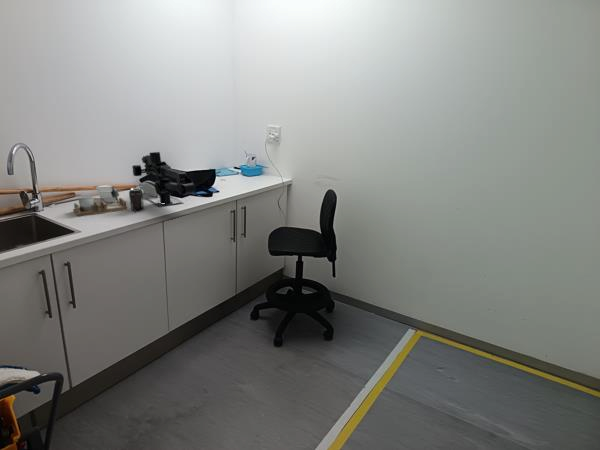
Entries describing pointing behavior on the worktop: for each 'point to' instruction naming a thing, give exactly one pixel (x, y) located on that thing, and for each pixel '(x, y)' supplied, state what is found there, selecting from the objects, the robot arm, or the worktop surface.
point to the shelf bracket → (108, 193)
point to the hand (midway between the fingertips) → (142, 169)
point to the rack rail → (97, 206)
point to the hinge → (149, 188)
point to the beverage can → (136, 199)
